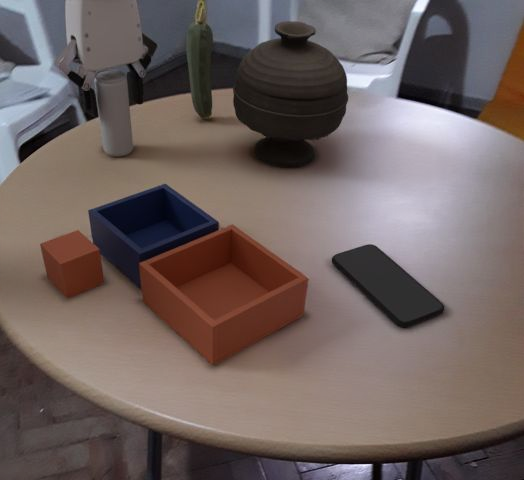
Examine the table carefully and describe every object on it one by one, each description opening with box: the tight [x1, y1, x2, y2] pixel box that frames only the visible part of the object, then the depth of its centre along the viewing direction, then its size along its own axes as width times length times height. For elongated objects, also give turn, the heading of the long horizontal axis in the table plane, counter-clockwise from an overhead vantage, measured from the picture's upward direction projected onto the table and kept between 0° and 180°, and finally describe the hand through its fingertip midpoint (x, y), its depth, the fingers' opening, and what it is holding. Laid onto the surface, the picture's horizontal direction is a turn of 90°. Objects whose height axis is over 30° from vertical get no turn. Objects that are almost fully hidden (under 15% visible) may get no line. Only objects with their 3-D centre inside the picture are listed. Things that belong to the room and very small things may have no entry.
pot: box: [232, 20, 349, 169], centre depth 97 cm, size 18×18×20 cm
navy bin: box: [87, 183, 220, 292], centre depth 80 cm, size 12×12×6 cm
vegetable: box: [185, 0, 214, 120], centre depth 105 cm, size 4×4×20 cm
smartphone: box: [331, 243, 445, 328], centre depth 79 cm, size 7×1×15 cm
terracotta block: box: [39, 229, 105, 299], centre depth 75 cm, size 5×5×5 cm
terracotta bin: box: [139, 224, 309, 366], centre depth 73 cm, size 14×14×6 cm
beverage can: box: [93, 68, 134, 158], centre depth 97 cm, size 5×5×12 cm
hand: (113, 106), depth 96 cm, fingers open, 7 cm apart
